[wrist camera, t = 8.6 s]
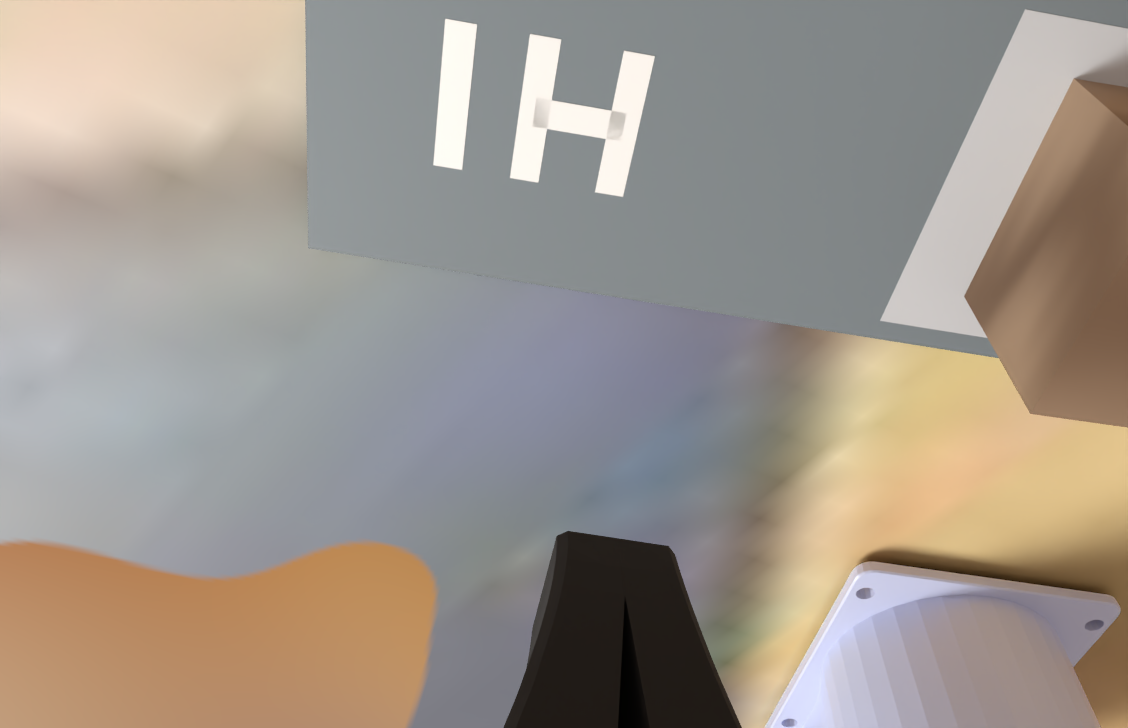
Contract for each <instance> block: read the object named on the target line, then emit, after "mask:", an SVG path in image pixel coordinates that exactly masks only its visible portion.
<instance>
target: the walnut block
mask: <svg viewBox="0 0 1128 728" xmlns="http://www.w3.org/2000/svg"><path fill="white" fill-rule="evenodd" d="M964 297H965V299H966V301H967V303H968V304H969V306H970V308H971V310H972V312H973V313H974V315H975V317H976V319H977V320H978V322H979V324H980V326H981V327H982V329H983V331H984V333H985V334H986V336H987V338H988V340H989V341H990V343H991V345H992V347H993V349H994V350H995V352H996V354H997V356H998V357H999V359H1000V361H1001V363H1002V364H1003V366H1004V368H1005V370H1006V371H1007V373H1008V375H1009V377H1010V378H1011V380H1012V382H1013V384H1014V386H1015V387H1016V389H1017V391H1018V393H1019V394H1020V396H1021V398H1022V400H1023V401H1024V403H1025V405H1026V407H1027V408H1028V410H1029V412H1030V414H1036V415H1043V416H1050V417H1057V418H1064V419H1071V420H1079V421H1086V422H1093V423H1100V424H1107V425H1114V426H1121V427H1128V87H1123V86H1117V85H1111V84H1105V83H1098V82H1092V81H1086V80H1080V79H1073V81H1072V83H1071V85H1070V87H1069V89H1068V91H1067V93H1066V95H1065V97H1064V99H1063V101H1062V103H1061V105H1060V107H1059V109H1058V111H1057V113H1056V115H1055V116H1054V118H1053V120H1052V122H1051V124H1050V126H1049V128H1048V130H1047V132H1046V134H1045V136H1044V138H1043V140H1042V142H1041V144H1040V146H1039V148H1038V150H1037V152H1036V154H1035V156H1034V158H1033V160H1032V162H1031V164H1030V166H1029V168H1028V170H1027V172H1026V174H1025V176H1024V178H1023V180H1022V182H1021V184H1020V186H1019V188H1018V190H1017V192H1016V194H1015V196H1014V198H1013V200H1012V202H1011V204H1010V206H1009V208H1008V210H1007V212H1006V214H1005V216H1004V218H1003V220H1002V222H1001V224H1000V226H999V228H998V230H997V232H996V234H995V236H994V238H993V240H992V242H991V244H990V246H989V248H988V250H987V252H986V253H985V255H984V257H983V259H982V261H981V263H980V265H979V267H978V269H977V271H976V273H975V275H974V277H973V279H972V281H971V283H970V285H969V287H968V289H967V291H966V293H965V295H964Z"/></svg>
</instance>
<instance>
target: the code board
mask: <svg viewBox="0 0 1128 728" xmlns="http://www.w3.org/2000/svg"><path fill="white" fill-rule="evenodd" d="M305 14H306V96H307V178H308V248H311V249H317V250H323V251H330V252H336V253H342V254H349V255H355V256H361V257H367V258H374V259H380V260H386V261H393V262H399V263H405V264H411V265H418V266H424V267H430V268H436V269H443V270H449V271H455V272H462V273H468V274H474V275H480V276H487V277H493V278H499V279H506V280H512V281H518V282H524V283H531V284H537V285H543V286H549V287H556V288H562V289H568V290H575V291H581V292H587V293H593V294H600V295H606V296H612V297H619V298H625V299H631V300H637V301H644V302H650V303H656V304H662V305H669V306H675V307H681V308H688V309H694V310H700V311H706V312H713V313H719V314H725V315H732V316H738V317H744V318H750V319H757V320H763V321H769V322H775V323H782V324H788V325H794V326H801V327H807V328H813V329H819V330H826V331H832V332H838V333H845V334H851V335H857V336H863V337H870V338H876V339H882V340H888V341H895V342H901V343H907V344H914V345H920V346H926V347H932V348H939V349H945V350H951V351H958V352H964V353H970V354H976V355H983V356H989V357H995V358H999V357H998V356H997V354H996V352H995V350H994V349H993V347H992V345H991V343H990V341H989V340H988V338H987V336H986V334H985V333H984V331H983V329H982V327H981V326H980V324H979V322H978V320H977V319H976V317H975V315H974V313H973V312H972V310H971V308H970V306H969V304H968V303H967V301H966V299H965V297H964V295H965V293H966V291H967V289H968V287H969V285H970V283H971V281H972V279H973V277H974V275H975V273H976V271H977V269H978V267H979V265H980V263H981V261H982V259H983V257H984V255H985V253H986V252H987V250H988V248H989V246H990V244H991V242H992V240H993V238H994V236H995V234H996V232H997V230H998V228H999V226H1000V224H1001V222H1002V220H1003V218H1004V216H1005V214H1006V212H1007V210H1008V208H1009V206H1010V204H1011V202H1012V200H1013V198H1014V196H1015V194H1016V192H1017V190H1018V188H1019V186H1020V184H1021V182H1022V180H1023V178H1024V176H1025V174H1026V172H1027V170H1028V168H1029V166H1030V164H1031V162H1032V160H1033V158H1034V156H1035V154H1036V152H1037V150H1038V148H1039V146H1040V144H1041V142H1042V140H1043V138H1044V136H1045V134H1046V132H1047V130H1048V128H1049V126H1050V124H1051V122H1052V120H1053V118H1054V116H1055V115H1056V113H1057V111H1058V109H1059V107H1060V105H1061V103H1062V101H1063V99H1064V97H1065V95H1066V93H1067V91H1068V89H1069V87H1070V85H1071V83H1072V81H1073V79H1080V80H1086V81H1092V82H1098V83H1105V84H1111V85H1117V86H1123V87H1128V0H305Z"/></svg>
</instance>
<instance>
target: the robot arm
mask: <svg viewBox="0 0 1128 728" xmlns="http://www.w3.org/2000/svg"><path fill="white" fill-rule="evenodd" d="M1120 612H1121V609H1120V606H1119V604H1118V602H1117V601H1116V599H1115V598H1114V597H1113V596H1110V595H1107V594H1101V593H1094V592H1087V591H1080V590H1073V589H1065V588H1058V587H1051V586H1044V585H1037V584H1030V583H1023V582H1016V581H1009V580H1002V579H995V578H988V577H981V576H973V575H966V574H959V573H952V572H945V571H938V570H931V569H924V568H917V567H910V566H903V565H896V564H889V563H881V562H874V561H868V562H864V563H861V564H859V565H857V566H856V567H855V568H854V569H853V570H852V572H851V574H850V576H849V577H848V579H847V581H846V583H845V585H844V586H843V588H842V590H841V592H840V593H839V595H838V597H837V599H836V601H835V602H834V604H833V606H832V608H831V609H830V611H829V613H828V615H827V617H826V618H825V620H824V622H823V624H822V626H821V627H820V629H819V631H818V633H817V634H816V636H815V638H814V640H813V642H812V643H811V645H810V647H809V649H808V651H807V652H806V654H805V656H804V658H803V659H802V661H801V663H800V665H799V667H798V668H797V670H796V672H795V674H794V676H793V677H792V679H791V681H790V683H789V684H788V686H787V688H786V690H785V692H784V693H783V695H782V697H781V699H780V701H779V702H778V704H777V706H776V708H775V709H774V711H773V713H772V715H771V717H770V718H769V720H768V722H767V724H766V726H765V728H1101V726H1100V724H1099V722H1098V720H1097V718H1096V715H1095V713H1094V711H1093V709H1092V707H1091V705H1090V703H1089V700H1088V698H1087V696H1086V694H1085V692H1084V690H1083V688H1082V685H1081V683H1080V681H1079V679H1078V677H1077V675H1076V673H1075V670H1074V668H1073V667H1074V666H1075V665H1076V664H1077V662H1078V661H1079V660H1080V659H1081V658H1082V657H1083V656H1084V655H1085V653H1086V652H1087V651H1088V650H1089V649H1090V648H1091V647H1092V645H1093V644H1094V643H1095V642H1096V641H1097V640H1098V639H1099V638H1100V636H1101V635H1102V634H1103V633H1104V632H1105V631H1106V630H1107V629H1108V627H1109V626H1110V625H1111V624H1112V623H1113V622H1114V621H1115V619H1116V618H1117V617H1118V616H1119V614H1120ZM504 728H742V727H741V725H740V723H739V721H738V718H737V716H736V714H735V711H734V709H733V707H732V705H731V702H730V700H729V698H728V696H727V693H726V691H725V689H724V687H723V684H722V682H721V680H720V677H719V675H718V672H717V670H716V668H715V665H714V663H713V660H712V658H711V655H710V653H709V650H708V648H707V645H706V642H705V640H704V637H703V635H702V632H701V630H700V627H699V624H698V622H697V619H696V616H695V613H694V611H693V608H692V605H691V602H690V600H689V597H688V594H687V591H686V588H685V585H684V582H683V579H682V576H681V573H680V570H679V567H678V563H677V560H676V557H675V554H674V553H673V551H672V550H671V549H670V548H669V546H664V545H657V544H651V543H644V542H637V541H631V540H624V539H618V538H611V537H604V536H598V535H591V534H584V533H578V532H571V531H567V532H565V533H563V534H560V535H558V536H557V537H556V541H555V545H554V549H553V552H552V556H551V560H550V564H549V568H548V571H547V575H546V579H545V583H544V587H543V590H542V594H541V598H540V602H539V606H538V609H537V613H536V617H535V621H534V625H533V630H532V637H531V645H530V652H529V658H528V663H527V669H526V672H525V675H524V677H523V680H522V683H521V686H520V689H519V691H518V694H517V697H516V699H515V702H514V704H513V706H512V709H511V711H510V714H509V716H508V718H507V721H506V723H505V725H504Z"/></svg>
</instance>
